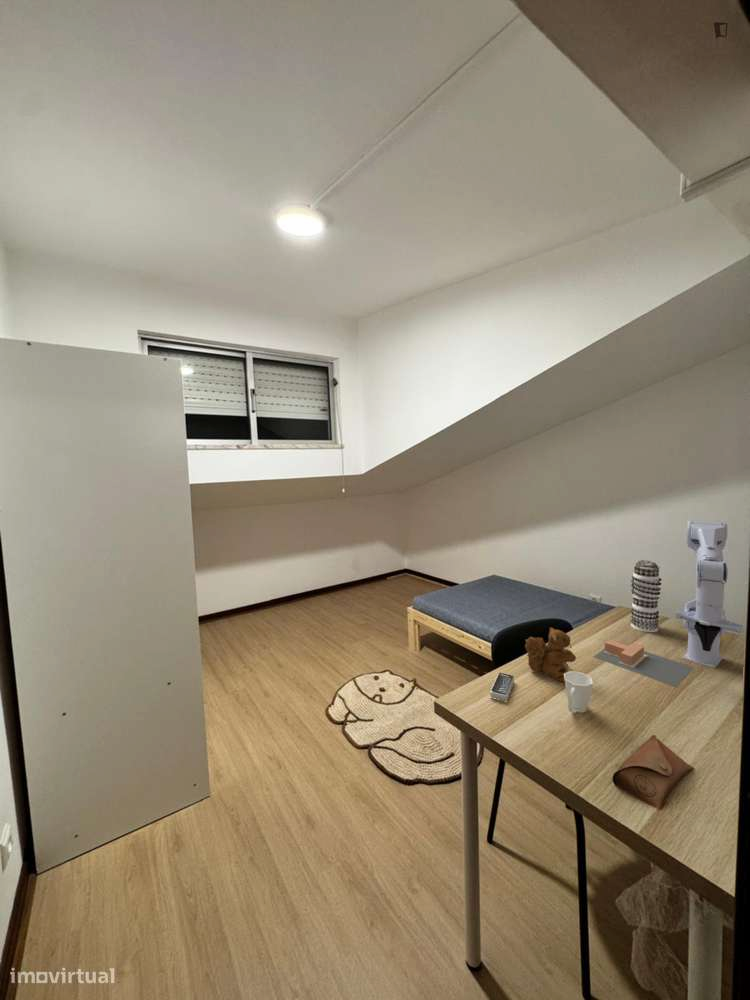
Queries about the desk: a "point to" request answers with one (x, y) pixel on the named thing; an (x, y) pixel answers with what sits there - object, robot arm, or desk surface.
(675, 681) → the mat
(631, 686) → the desk surface
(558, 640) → the stuffed squirrel
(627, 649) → the t block
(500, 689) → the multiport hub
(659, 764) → the sunglasses case
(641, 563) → the white patterned cylinder
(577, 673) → the cup
